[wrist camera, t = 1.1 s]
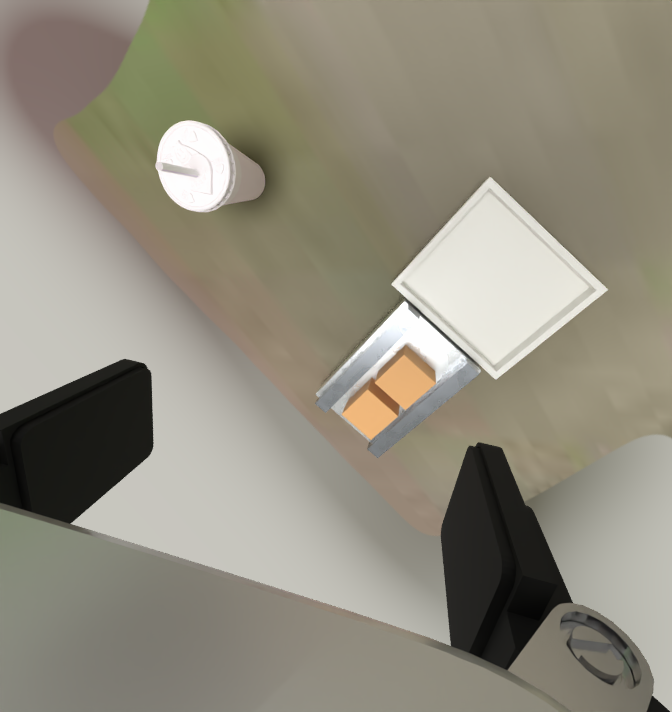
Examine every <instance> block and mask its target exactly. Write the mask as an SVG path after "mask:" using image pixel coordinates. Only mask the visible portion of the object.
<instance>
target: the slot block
mask: <svg viewBox="0 0 672 712" xmlns="http://www.w3.org/2000/svg"><path fill="white" fill-rule="evenodd" d="M405 345H407V346H408V347H409V348H410V349H411V350H412V351H413V352H415V353H416V354H417V355H418V356H419V357H420V358H421V359H422V360H423V361H424V362H426V363H427V364H428V365H429V366H430V367H431V368H432V369H433V370H434V371H435V375H436V384H435V385H434V386H433V387H431V388H430V389H429V390H428V391H427V392H426V393H425V394H423V395H422V396H421V397H420V398H419V399H418V400H417V401H415V402H414V403H413V404H412V405H411V406H410V407H408V408H407V409H406V410H405V409H404V408H402V407H401V406H400V408H399V414H398V417H397V418H396V419H395V420H393V421H392V422H391V423H390V424H389V425H388V426H387V427H385V428H384V429H383V430H382V431H381V432H380V433H378V434H377V435H376V436H375V437H374V438H373V439H372V440H370V439H369V438H368V437H367V436H366V435H365V434H363V433H362V432H361V431H360V430H359V429H358V428H357V427H355V426H354V425H353V424H352V423H351V422H350V421H349V420H347V419H346V418H345V417H344V416H343V415H342V412H343V410H344V408H345V405H346V403H347V401H348V400H349V399H350V398H351V397H352V396H353V395H354V394H355V393H356V392H357V391H358V390H359V389H360V388H361V387H362V386H363V385H364V384H365V383H366V382H367V381H369V380H370V379H371V378H373V379H375V380H376V377H377V374H378V371H379V370H380V369H381V368H382V367H383V366H384V365H385V364H386V363H387V362H388V361H389V360H390V359H391V358H392V357H393V356H394V355H395V354H396V353H397V352H398V351H399V350H400V349H401V348H402V347H404V346H405ZM480 372H481V370H480V367H479V365H478V363H477V362H476V361H475V360H474V359H473V358H471V357H470V356H469V355H468V354H467V353H466V352H465V351H464V350H463V349H462V348H460V347H459V346H458V345H457V344H456V343H455V342H454V341H453V340H452V339H451V338H450V337H448V336H447V335H446V334H445V333H444V332H443V331H442V330H441V329H440V328H439V327H438V326H436V325H435V324H434V323H433V322H432V321H431V320H430V319H429V318H428V317H427V316H425V315H424V314H423V313H422V312H421V311H420V310H419V309H418V308H417V307H416V306H415V305H413V304H412V303H411V302H410V301H409V300H408V299H407V298H406V297H405V298H404V299H403V300H402V301H401V302H400V303H399V304H398V305H397V306H396V307H395V308H394V309H393V310H392V311H391V312H390V313H389V314H388V315H387V316H386V318H385V319H384V320H383V321H382V322H381V323H380V324H379V325H378V326H377V327H376V328H375V329H374V330H373V331H372V332H371V333H370V334H369V335H368V336H367V337H366V338H365V340H364V341H363V342H362V343H361V344H360V345H359V346H358V347H357V348H356V349H355V350H354V351H353V352H352V353H351V354H350V355H349V356H348V357H347V358H346V359H345V360H344V361H343V363H342V364H341V365H340V366H339V367H338V368H337V369H336V370H335V371H334V372H333V373H332V374H331V375H330V376H329V377H328V378H327V379H326V380H325V381H324V382H323V384H322V385H321V387H320V388H319V390H318V391H317V393H316V395H317V396H318V397H319V398H318V400H317V401H316V403H315V404H316V405H317V406H318V407H320V408H321V409H322V410H323V411H324V412H325V413H326V412H327V411H328V410H329V409H330V408H332V409H333V410H334V411H335V412H336V413H337V414H339V415H340V416H341V417H342V418H343V419H344V420H345V421H347V422H348V423H349V424H350V425H351V426H352V427H353V428H355V429H356V430H357V431H358V432H359V433H360V434H361V435H363V436H364V437H365V438H366V439H367V440H368V441H369V445H368V450H369V451H370V452H371V453H372V454H374V455H375V456H376V457H377V458H378V457H380V456H381V455H382V454H383V453H385V452H386V451H387V450H388V449H389V448H391V447H392V446H393V445H394V444H395V443H397V442H398V441H399V440H400V439H401V438H403V437H404V436H405V435H406V434H407V433H409V432H410V431H411V430H412V429H413V428H415V427H416V426H417V425H418V424H420V423H421V422H422V421H423V420H424V419H426V418H427V417H428V416H429V415H430V414H432V413H433V412H434V411H435V410H436V409H438V408H439V407H440V406H441V405H442V404H444V403H445V402H446V401H447V400H449V399H450V398H451V397H452V396H453V395H455V394H456V393H457V392H458V391H459V390H461V389H462V388H463V387H464V386H465V385H467V384H468V383H469V382H470V381H471V380H473V379H474V378H475V377H476V376H477V375H479V373H480Z"/></svg>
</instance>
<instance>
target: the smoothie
mask: <svg viewBox="0 0 672 712" xmlns="http://www.w3.org/2000/svg"><path fill="white" fill-rule="evenodd" d="M156 169H157V170H158V173H159V177H160V180H161V183H162V185H163V187H164V189H165V190H166V192H167V193H168V195H169V196H170V197H171V198H172V199H173V200H174V201H175V202H176V203H177V204H178V205H180V206H181V207H183V208H185V209H188V210H192V211H197V212H210V211H213V210H216V209H218V208H219V207H221V206H222V205H227V204H232V203H238V202H243V201H249V200H254V199H256V198H258V197H259V196H260V195H261V194H262V192H263V190H264V187H265V175H264V172H263V170H262V168H261V167H260V166H259V165H258V164H257V163H256V162H254V161H253V160H251V159H250V158H248V157H247V156H246V155H244V154H243V153H241V152H240V151H238V150H237V149H236V148H234V147H233V146H231V145H230V144H228V143H227V141H226V140H225V138H224V137H223V136H222V135H221V134H220V133H219V132H218V131H217V130H215V129H214V128H212V127H211V126H209V125H206V124H203V123H200V122H196V121H182V122H179V123H177V124H175V125H173V126H172V127H171V128H169V129H168V130H167V132H166V133H165V134H164V136H163V137H162V140H161V142H160V145H159V148H158V153H157V162H156Z"/></svg>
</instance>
